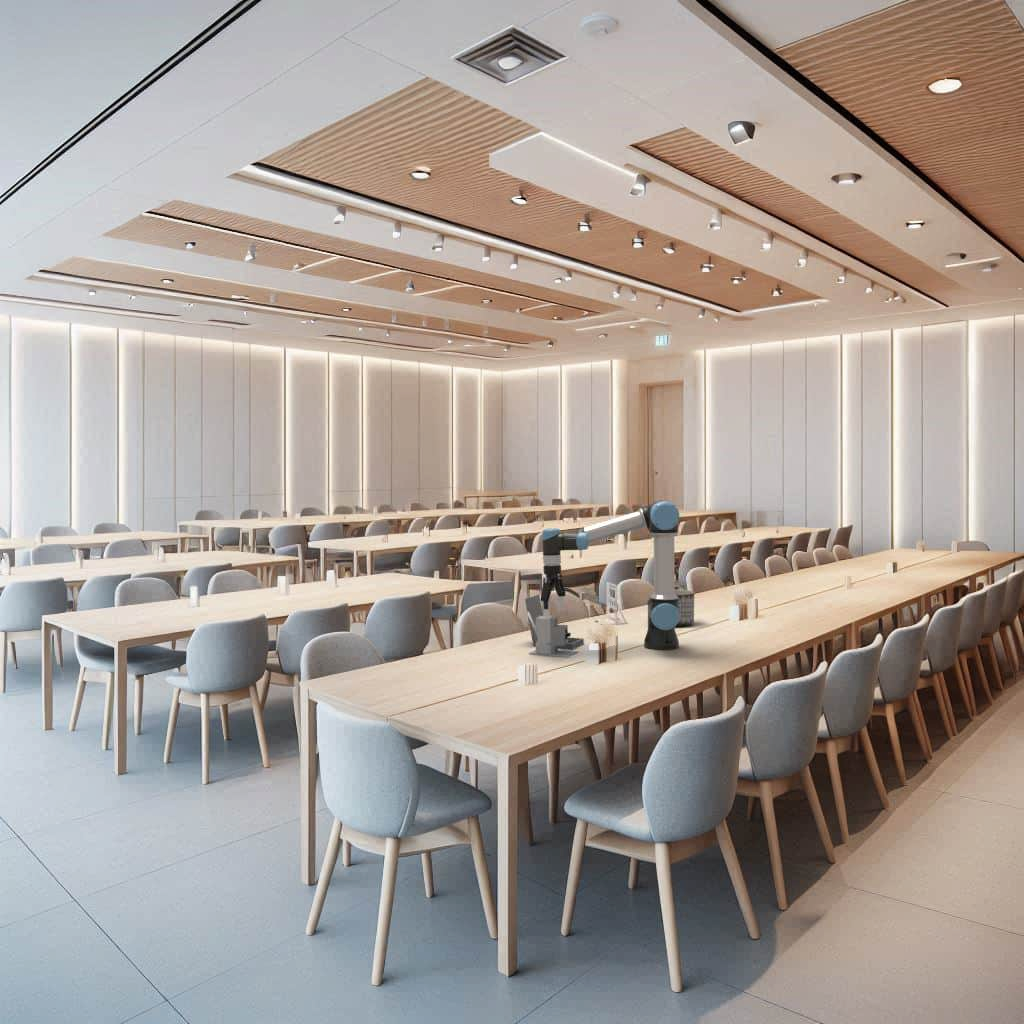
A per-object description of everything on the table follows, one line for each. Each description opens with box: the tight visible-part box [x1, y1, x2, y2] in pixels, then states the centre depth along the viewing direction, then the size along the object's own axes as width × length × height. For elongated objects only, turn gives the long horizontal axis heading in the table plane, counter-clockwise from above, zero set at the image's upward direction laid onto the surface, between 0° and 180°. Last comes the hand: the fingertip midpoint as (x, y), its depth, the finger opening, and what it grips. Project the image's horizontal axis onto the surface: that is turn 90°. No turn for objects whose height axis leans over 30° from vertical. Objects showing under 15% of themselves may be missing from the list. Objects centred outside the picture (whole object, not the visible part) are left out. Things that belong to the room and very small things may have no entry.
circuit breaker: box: [535, 615, 571, 654], centre depth 366 cm, size 8×14×15 cm, turn 76°
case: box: [524, 594, 585, 651], centre depth 383 cm, size 23×14×21 cm, turn 62°
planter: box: [674, 588, 695, 628], centre depth 427 cm, size 19×19×16 cm
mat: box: [528, 648, 579, 659], centre depth 366 cm, size 18×12×1 cm, turn 62°
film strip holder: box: [605, 581, 629, 626], centre depth 437 cm, size 14×14×20 cm
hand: (553, 614), depth 365 cm, fingers open, 13 cm apart
